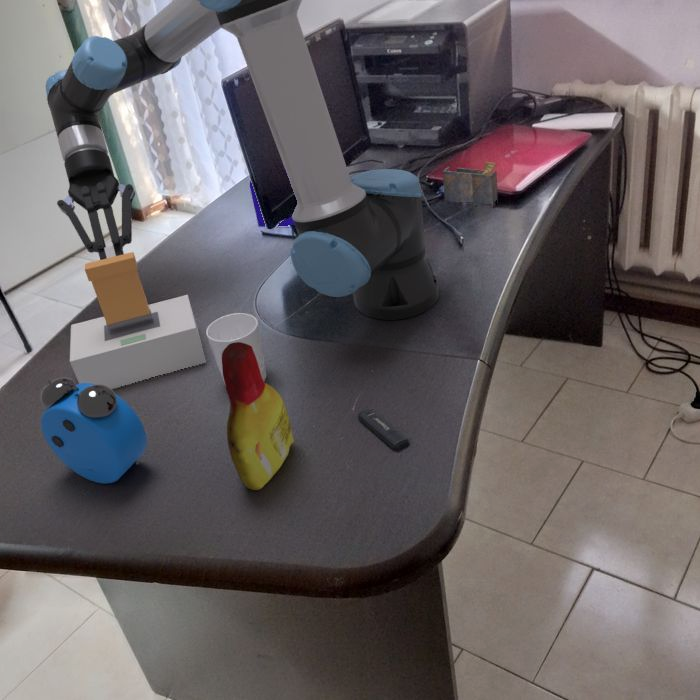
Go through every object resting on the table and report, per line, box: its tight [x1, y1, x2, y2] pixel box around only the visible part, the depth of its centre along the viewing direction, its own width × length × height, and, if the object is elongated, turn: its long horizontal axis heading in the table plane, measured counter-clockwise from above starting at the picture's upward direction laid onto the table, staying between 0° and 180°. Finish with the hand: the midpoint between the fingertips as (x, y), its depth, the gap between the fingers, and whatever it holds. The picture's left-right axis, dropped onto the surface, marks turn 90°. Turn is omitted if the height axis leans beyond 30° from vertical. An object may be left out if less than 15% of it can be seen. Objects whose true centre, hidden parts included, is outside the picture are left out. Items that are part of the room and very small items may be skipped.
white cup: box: [205, 312, 267, 387], centre depth 113 cm, size 8×8×10 cm
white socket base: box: [69, 294, 207, 390], centre depth 123 cm, size 12×20×7 cm, turn 107°
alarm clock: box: [39, 377, 148, 484], centre depth 98 cm, size 13×6×15 cm, turn 65°
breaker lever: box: [84, 251, 153, 331], centre depth 118 cm, size 3×8×11 cm, turn 107°
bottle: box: [222, 342, 295, 491], centre depth 93 cm, size 12×6×20 cm, turn 161°
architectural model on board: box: [442, 160, 498, 205], centre depth 158 cm, size 11×3×10 cm, turn 58°
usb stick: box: [357, 408, 410, 452], centre depth 101 cm, size 10×3×2 cm, turn 33°
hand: (119, 285), depth 122 cm, fingers closed
